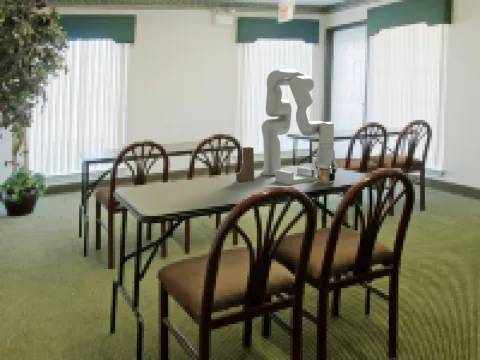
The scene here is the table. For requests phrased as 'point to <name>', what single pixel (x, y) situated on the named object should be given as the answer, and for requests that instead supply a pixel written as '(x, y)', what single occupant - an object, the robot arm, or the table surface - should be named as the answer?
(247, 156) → the wooden block
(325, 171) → the maple block
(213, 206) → the table surface
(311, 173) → the slide jaw
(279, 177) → the vise base
